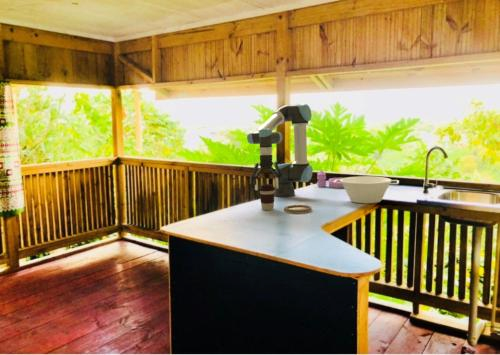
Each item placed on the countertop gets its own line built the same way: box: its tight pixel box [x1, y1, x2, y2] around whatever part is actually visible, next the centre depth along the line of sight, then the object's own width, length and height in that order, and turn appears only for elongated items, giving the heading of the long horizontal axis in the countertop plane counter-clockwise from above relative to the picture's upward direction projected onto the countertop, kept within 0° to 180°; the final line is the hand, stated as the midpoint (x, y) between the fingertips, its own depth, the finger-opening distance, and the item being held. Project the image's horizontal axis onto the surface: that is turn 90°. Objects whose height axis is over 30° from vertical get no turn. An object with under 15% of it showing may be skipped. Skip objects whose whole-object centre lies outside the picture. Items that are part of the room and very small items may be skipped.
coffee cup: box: [258, 183, 275, 211], centre depth 245 cm, size 10×10×15 cm
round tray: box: [283, 204, 313, 215], centre depth 239 cm, size 16×16×2 cm
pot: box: [333, 175, 400, 205], centre depth 259 cm, size 40×32×14 cm
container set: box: [316, 170, 345, 189], centre depth 322 cm, size 25×15×13 cm, turn 68°
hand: (266, 189), depth 244 cm, fingers open, 13 cm apart
